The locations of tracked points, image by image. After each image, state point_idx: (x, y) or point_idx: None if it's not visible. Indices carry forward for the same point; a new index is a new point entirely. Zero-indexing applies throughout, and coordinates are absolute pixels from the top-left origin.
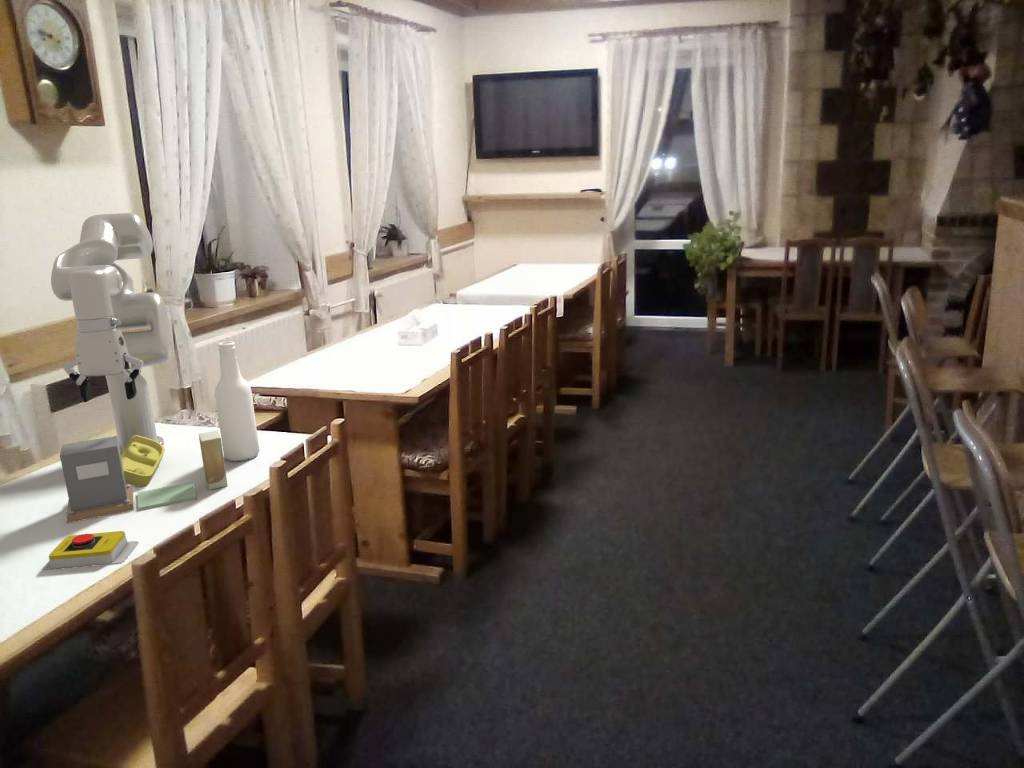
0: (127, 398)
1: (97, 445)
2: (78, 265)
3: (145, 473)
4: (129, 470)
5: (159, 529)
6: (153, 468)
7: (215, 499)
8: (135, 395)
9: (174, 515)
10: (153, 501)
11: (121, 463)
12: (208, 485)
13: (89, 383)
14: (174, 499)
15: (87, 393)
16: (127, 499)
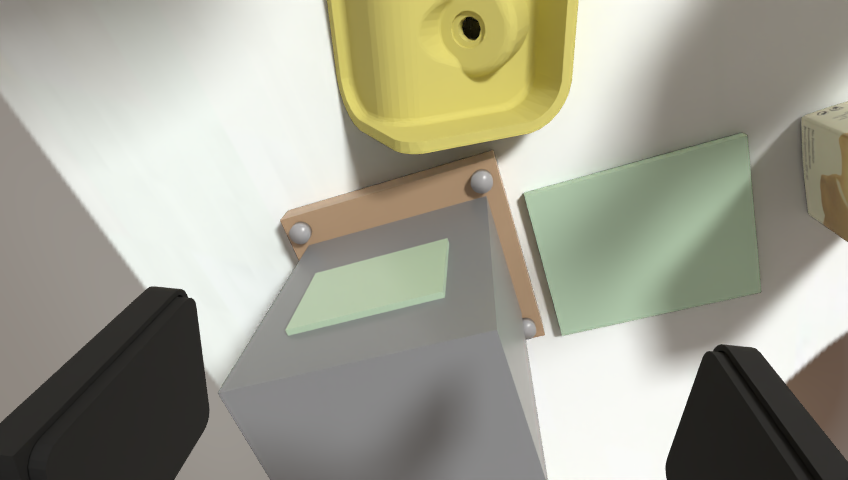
0: (671, 478)
1: (434, 455)
2: None
3: (523, 23)
4: (443, 4)
5: (649, 461)
6: (569, 21)
7: (824, 307)
8: (750, 349)
9: (684, 391)
10: (605, 298)
11: (512, 324)
12: (819, 221)
13: (57, 464)
14: (680, 299)
15: (160, 450)
16: (526, 324)
